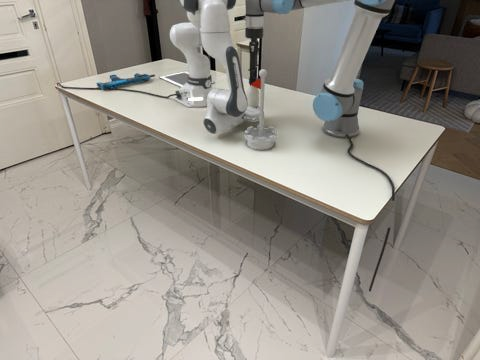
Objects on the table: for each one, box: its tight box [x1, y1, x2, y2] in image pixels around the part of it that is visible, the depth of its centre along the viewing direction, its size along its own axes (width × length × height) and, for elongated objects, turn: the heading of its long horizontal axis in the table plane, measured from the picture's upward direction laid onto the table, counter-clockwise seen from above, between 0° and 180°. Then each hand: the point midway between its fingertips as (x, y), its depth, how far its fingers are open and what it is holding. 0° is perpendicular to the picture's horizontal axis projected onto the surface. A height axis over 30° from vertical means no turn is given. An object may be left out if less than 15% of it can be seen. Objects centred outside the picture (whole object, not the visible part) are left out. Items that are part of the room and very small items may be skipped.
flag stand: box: [244, 68, 278, 151], centre depth 131 cm, size 13×13×30 cm
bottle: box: [246, 85, 260, 108], centre depth 156 cm, size 6×6×19 cm
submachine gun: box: [95, 72, 156, 91], centre depth 209 cm, size 34×4×25 cm
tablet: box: [158, 70, 215, 88], centre depth 212 cm, size 32×20×1 cm, turn 41°
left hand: (253, 106), depth 158 cm, fingers closed on bottle, 5 cm apart
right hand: (253, 83), depth 152 cm, fingers open, 5 cm apart
